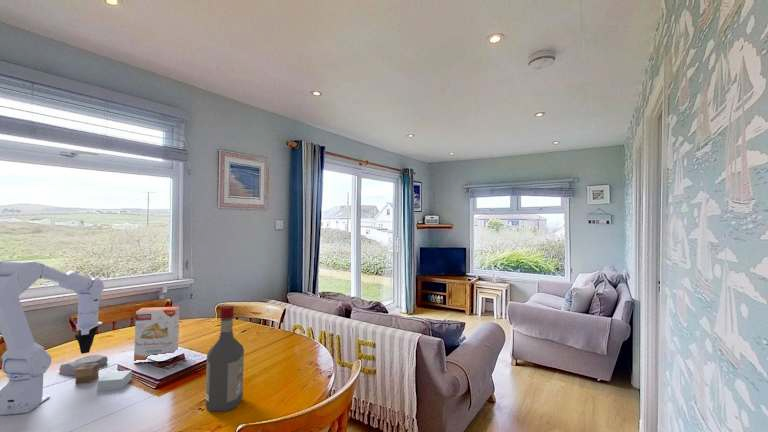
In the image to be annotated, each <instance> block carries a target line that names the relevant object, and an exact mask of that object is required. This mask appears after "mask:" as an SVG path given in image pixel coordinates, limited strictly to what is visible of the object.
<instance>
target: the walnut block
mask: <svg viewBox="0 0 768 432" xmlns="http://www.w3.org/2000/svg"><path fill="white" fill-rule="evenodd" d="M99 369H100V367H99V363H95V364H84V365H82V366H81V367H79V368H78V369H76V376H75V381H74V382H75V385H80V384H92V382H94V381H95V380H97V379H98V378H99V374H100V373H99Z"/></svg>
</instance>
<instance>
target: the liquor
mask: <svg viewBox="0 0 768 432" xmlns="http://www.w3.org/2000/svg"><path fill="white" fill-rule="evenodd" d="M234 309H235V307H234V305H224V306H220V315H219V316H220V333H219V335H218V336H219V337H218V338H219V339H217V340H216V342H215V343H214V345H213V346H212V347H211V348H210V349H209V350H208V352H207V353H206V371H205V373H206V374H205V376H206V377H205V400H204V401H205V403H204V404H205V405H204V406H205V407H206V409H207V411H209V412H215V413H218V412H225V413H226V412H229V411H232V410H234V409H235V408H237V406H238V405H239V404H240V403H241V401H242V399H243V397H244V396H243V393H244V391H243V390H244V389H243V388H244V362H245V359H244V358H245V357H244V355H245V349H244V347H243V345H242V344H241V342H239V341H238V340H237V339H236V338H235V337H234V333H233V328H234V326H233V323H234V321H233V320H234Z"/></svg>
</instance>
